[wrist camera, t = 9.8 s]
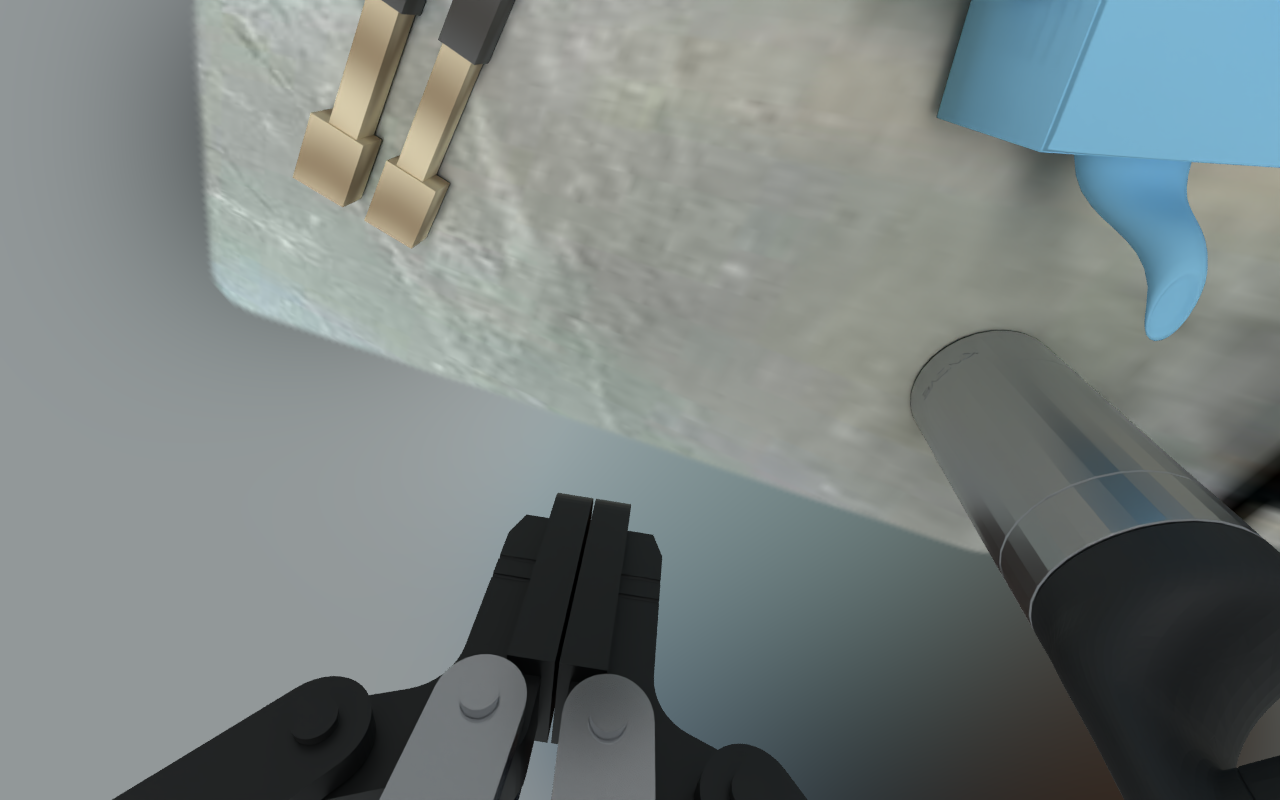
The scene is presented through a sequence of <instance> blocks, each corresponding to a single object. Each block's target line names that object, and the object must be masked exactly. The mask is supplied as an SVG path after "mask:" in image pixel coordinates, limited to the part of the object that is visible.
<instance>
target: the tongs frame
mask: <svg viewBox="0 0 1280 800" xmlns="http://www.w3.org/2000/svg"><path fill="white" fill-rule="evenodd" d="M425 1H426V0H365V3H364V6H363V10H362V13H361V16H360V20H359V23H358V26H357V30H356V33H355V36H354V40H353V43H352V46H351V50H350V53H349V57H348V60H347V63H346V67H345V70H344V73H343V77H342V80H341V83H340V87H339V90H338V93H337V97H336V100H335V103H334V107H333V109H328V110H323V111H317V112H312V113H311V114H310V118H309V121H308V125H307V128H306V132H305V136H304V139H303V143H302V146H301V150H300V153H299V157H298V161H297V164H296V168H295V171H294V175H293V178H295V179H296V180H298V181H300V182H301V183H303V184H305V185H306V186H308V187H310V188H311V189H313V190H315V191H316V192H318V193H320V194H321V195H323V196H325V197H326V198H328V199H330V200H331V201H333V202H335V203H336V204H338V205H340V206H341V207H344V206H346V205H349V204H351V203H353V202H355V201H357V200H359V199H361V198H362V195H363V192H364V189H365V186H366V184H367V181H368V178H369V175H370V172H371V169H372V167H373V164H374V161H375V158H376V155H377V152H378V150H379V147H380V144H381V141H382V140H381V139H380V138H378V137H376V136H375V135H374V133H375V130H376V127H377V124H378V121H379V118H380V115H381V112H382V110H383V107H384V104H385V101H386V98H387V95H388V92H389V89H390V86H391V83H392V80H393V78H394V75H395V72H396V69H397V66H398V63H399V60H400V57H401V54H402V51H403V49H404V46H405V43H406V40H407V37H408V34H409V31H410V28H411V25H412V22H413V19H414V17H415V15H419V16H420V15H421V12H422V10H423V7H424V4H425Z"/></svg>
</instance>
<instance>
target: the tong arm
mask: <svg viewBox="0 0 1280 800" xmlns="http://www.w3.org/2000/svg"><path fill="white" fill-rule="evenodd" d="M514 1H515V0H453V1H452V4H451V7H450V9H449V12H448V15H447V17H446V20H445V23H444V25H443V28H442V31H441V33H440V36H439V39H438V40H439V41H441V42H442V46H441V49H440V51H439V54H438V57H437V59H436V62H435V65H434V67H433V70H432V72H431V75H430V78H429V80H428V83H427V86H426V88H425V91H424V94H423V96H422V99H421V102H420V104H419V107H418V109H417V112H416V115H415V117H414V120H413V123H412V125H411V128H410V131H409V133H408V136H407V139H406V141H405V144H404V146H403V149H402V152H401V154H400V155H399V156H397V157H394V158H392V159H389V160H387V161H386V163H385V166H384V169H383V171H382V174H381V177H380V180H379V182H378V185H377V188H376V190H375V193H374V196H373V199H372V201H371V204H370V207H369V210H368V212H367V215H366V218H365V221H366V222H368V223H369V224H371V225H373V226H374V227H376V228H378V229H379V230H381V231H383V232H384V233H386V234H388V235H389V236H391V237H393V238H394V239H396V240H398V241H399V242H401V243H403V244H404V245H406V246H408V247H409V248H411V249H412V248H413V247H415V246H416V245H417V244H419V243H420V242H421V241H423V240H424V239H425V238H426V237H427V235H428V232H429V230H430V228H431V226H432V223H433V221H434V219H435V216H436V214H437V212H438V210H439V207H440V205H441V203H442V200H443V198H444V196H445V194H446V191H447V189H448V187H449V184H450V183H448V182H447V181H445V180H444V179H442V178H440V177H439V176H437V175H436V174H437V172H438V169H439V167H440V164H441V162H442V160H443V157H444V155H445V153H446V150H447V148H448V145H449V143H450V141H451V138H452V136H453V134H454V131H455V129H456V126H457V124H458V122H459V119H460V117H461V114H462V112H463V110H464V107H465V105H466V103H467V100H468V98H469V95H470V93H471V91H472V88H473V86H474V84H475V81H476V79H477V76H478V74H479V72H480V69H481V67H482V65H483V64H487V63H488V62H489V60H490V58H491V55H492V53H493V51H494V48H495V46H496V44H497V41H498V39H499V37H500V34H501V32H502V29H503V27H504V25H505V22H506V20H507V18H508V15H509V13H510V11H511V8H512V6H513V4H514Z"/></svg>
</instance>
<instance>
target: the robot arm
mask: <svg viewBox="0 0 1280 800" xmlns="http://www.w3.org/2000/svg"><path fill="white" fill-rule="evenodd" d="M910 405H911V411H912V415H913V417H914V419H915V421H916V423H917V425H918V427H919V429H920V431H921V433H922V434H923V436H924V438H925V440H926V441H927V443H928V445H929V447H930V449H931V450H932V452H933V454H934V456H935V458H936V460H937V461H938V463H939V465H940V467H941V468H942V470H943V472H944V474H945V476H946V477H947V479H948V481H949V483H950V484H951V486H952V488H953V490H954V491H955V493H956V495H957V497H958V499H959V500H960V502H961V504H962V506H963V507H964V509H965V511H966V513H967V514H968V516H969V518H970V520H971V521H972V523H973V525H974V527H975V529H976V530H977V532H978V534H979V536H980V537H981V539H982V541H983V543H984V544H985V546H986V548H987V550H988V551H989V553H990V555H991V557H992V559H993V560H994V562H995V564H996V566H997V567H998V569H999V571H1000V573H1001V574H1002V576H1003V578H1004V579H1005V581H1006V583H1007V584H1008V586H1009V588H1010V590H1011V591H1012V593H1013V595H1014V597H1015V598H1016V600H1017V602H1018V604H1019V605H1020V607H1021V609H1022V611H1023V613H1024V614H1025V616H1026V618H1027V620H1028V621H1029V623H1030V625H1031V627H1032V628H1033V630H1034V632H1035V633H1036V635H1037V637H1038V639H1039V641H1040V642H1041V644H1042V646H1043V648H1044V649H1045V651H1046V653H1047V654H1048V656H1049V658H1050V660H1051V662H1052V664H1053V666H1054V668H1055V670H1056V672H1057V674H1058V676H1059V678H1060V679H1061V682H1062V684H1063V685H1064V687H1065V689H1066V691H1067V693H1068V694H1069V696H1070V698H1071V700H1072V701H1073V703H1074V705H1075V707H1076V709H1077V711H1078V713H1079V715H1080V716H1081V718H1082V720H1083V722H1084V724H1085V725H1086V727H1087V729H1088V731H1089V733H1090V735H1091V736H1092V738H1093V740H1094V742H1095V744H1096V746H1097V748H1098V750H1099V751H1100V753H1101V755H1102V757H1103V759H1104V761H1105V763H1106V765H1107V767H1108V769H1109V771H1110V773H1111V775H1112V777H1113V779H1114V781H1115V783H1116V785H1117V787H1118V788H1119V790H1120V792H1121V794H1122V796H1123V798H1124V800H1280V756H1276V757H1272V758H1268V759H1265V760H1261V761H1257V762H1254V763H1250V764H1246V765H1242V766H1239V767H1238V768H1236V765H1237V761H1238V757H1239V754H1240V752H1241V749H1242V747H1243V744H1244V742H1245V740H1246V738H1247V737H1248V735H1249V733H1250V731H1251V730H1252V728H1253V727H1254V726H1255V724H1256V723H1257V721H1258V720H1259V719H1260V718H1261V716H1262V715H1263V714H1264V713H1265V712H1266V711H1267V710H1268V709H1269V708H1270V707H1271V706H1272V705H1273V704H1274V703H1275V702H1276V701H1277V700H1278V699H1279V698H1280V552H1278V551H1277V550H1276V549H1275V548H1274V547H1273V546H1272V545H1270V544H1269V543H1268V542H1267V541H1266V540H1264V539H1263V538H1262V537H1261V536H1260V535H1259V534H1258V533H1257V532H1256V531H1254V530H1253V529H1252V528H1251V527H1250V526H1249V525H1248V524H1247V523H1245V522H1244V521H1243V520H1242V519H1241V518H1240V517H1239V516H1237V515H1236V514H1235V513H1234V512H1233V511H1232V510H1231V509H1230V508H1228V507H1227V506H1226V505H1225V504H1224V503H1223V502H1222V501H1220V500H1219V499H1218V498H1217V497H1216V496H1215V495H1214V494H1213V493H1211V492H1210V491H1209V490H1208V489H1207V488H1205V487H1204V486H1203V485H1202V484H1201V483H1200V482H1198V481H1197V480H1196V479H1195V478H1194V477H1193V476H1192V475H1190V474H1189V473H1188V472H1187V471H1186V470H1185V469H1184V468H1183V467H1181V466H1180V465H1179V464H1178V463H1177V462H1176V461H1175V460H1174V459H1172V458H1171V457H1170V456H1169V455H1168V454H1167V453H1166V452H1164V451H1163V450H1162V449H1161V448H1160V447H1159V446H1158V445H1157V444H1155V443H1154V442H1153V441H1152V440H1151V439H1150V438H1149V437H1148V436H1146V435H1145V434H1144V433H1143V432H1142V431H1141V430H1140V429H1138V428H1137V427H1136V426H1135V425H1134V424H1133V423H1132V422H1131V421H1129V420H1128V419H1127V418H1126V417H1125V416H1124V415H1123V414H1122V413H1120V412H1119V411H1118V410H1117V409H1116V408H1115V407H1114V406H1113V405H1111V404H1110V403H1109V402H1108V401H1107V400H1106V399H1105V398H1103V397H1102V396H1101V395H1100V394H1099V393H1098V392H1097V391H1096V390H1094V389H1093V388H1092V387H1091V386H1090V385H1089V384H1088V383H1087V382H1085V381H1084V380H1083V379H1082V378H1081V377H1080V376H1079V375H1078V374H1077V373H1076V372H1075V371H1073V370H1072V369H1071V368H1070V367H1069V366H1068V365H1067V364H1066V363H1064V362H1063V361H1062V360H1061V359H1060V358H1059V357H1058V356H1056V355H1055V354H1054V353H1053V352H1052V351H1051V350H1050V349H1048V348H1047V347H1046V346H1045V345H1044V344H1042V343H1041V342H1040V341H1039V340H1037V339H1035V338H1033V337H1031V336H1029V335H1026V334H1024V333H1019V332H1013V331H989V332H984V333H978V334H975V335H972V336H969V337H966V338H963V339H961V340H959V341H957V342H955V343H953V344H951V345H950V346H948V347H946V348H945V349H943V350H942V351H941V352H939V353H938V354H937V355H936V356H934V357H933V358H932V359H931V360H930V361H929V362H928V364H927V365H926V366H925V367H924V368H923V369H922V371H921V373H920V374H919V376H918V377H917V379H916V381H915V384H914V387H913V389H912V392H911V402H910ZM592 508H593V498H587V497H581V496H575V495H569V494H562V493H558V494H557V496H556V498H555V502H554V505H553V508H552V511H551V514H550V518H545V517H538V516H532V515H526V516H525V517H524V518H523V519H522V520H521V521H520V522H519V523H518V524H517V525H516V526H515V527H514V528H513V529H512V530H511V531H510V532H509V534H508V536H507V539H506V541H505V544H504V546H503V549H502V552H501V554H500V559H498V562H497V564H496V567H495V570H494V573H493V577H492V578H491V580H490V583H489V586H488V588H487V591H486V593H485V596H484V598H483V601H482V604H481V606H480V609H479V611H478V614H477V617H476V619H475V622H474V624H473V627H472V630H471V632H470V635H469V638H468V641H467V643H466V645H465V647H464V650H463V652H462V654H461V655H460V657H459V658H458V660H457V661H456V662H455V663H454V665H452V666H451V667H450V668H449V669H448V670H447V671H446V672H445V673H444V674H443V675H441V676H439V677H438V678H436V679H435V680H433V681H431V682H429V683H427V684H424V685H421V686H418V687H414V688H410V689H405V690H398V691H393V692H386V693H381V694H374V695H368V693H367V691H366V690H365V689H364V688H363V686H362V685H360V684H359V683H358V682H356V681H354V680H352V679H349V678H345V677H338V676H330V677H323V678H319V679H315V680H312V681H309V682H307V683H304V684H303V685H301V686H299V687H297V688H295V689H293V690H292V691H290V692H289V693H287V694H285V695H284V696H282V697H280V698H279V699H277V700H275V701H274V702H272V703H270V704H269V705H267V706H266V707H264V708H262V709H261V710H259V711H257V712H256V713H254V714H252V715H251V716H249V717H247V718H246V719H244V720H242V721H241V722H239V723H238V724H236V725H234V726H233V727H231V728H229V729H228V730H226V731H224V732H223V733H221V734H220V735H218V736H216V737H215V738H213V739H211V740H210V741H208V742H206V743H205V744H203V745H201V746H200V747H198V748H196V749H195V750H193V751H192V752H190V753H188V754H187V755H185V756H183V757H182V758H180V759H178V760H177V761H175V762H173V763H172V764H170V765H169V766H167V767H165V768H164V769H162V770H160V771H159V772H157V773H156V774H154V775H152V776H150V777H149V778H147V779H145V780H144V781H142V782H140V783H139V784H137V785H136V786H134V787H132V788H131V789H129V790H127V791H126V792H124V793H123V794H121V795H119V796H117V797H116V798H115V799H113V800H519V797H520V793H521V789H522V786H523V784H524V780H525V777H526V773H527V769H528V765H529V761H530V756H531V752H532V748H533V743H534V741H540V742H546V743H547V741H548V737H549V732H550V728H551V723H552V718H553V714H554V721H553V731H552V740H551V743H554V744H558V751H557V758H556V766H555V774H554V782H553V790H552V798H551V800H807V799H806V797H805V796H804V794H803V793H802V792H801V791H800V789H799V788H798V787H797V785H796V784H795V782H794V781H793V780H792V779H791V777H790V776H789V774H788V773H787V772H786V770H785V769H784V768H783V767H782V766H781V765H780V763H779V762H778V761H777V760H776V759H774V758H773V757H772V756H771V755H769V754H768V753H766V752H765V751H763V750H761V749H759V748H757V747H754V746H751V745H747V744H731V745H728V746H725V747H723V748H721V749H719V750H717V749H715V748H713V747H711V746H710V745H708V744H706V743H704V742H702V741H700V740H699V739H697V738H695V737H693V736H691V735H689V734H688V733H686V732H684V731H683V730H681V729H680V728H679V727H677V726H676V725H675V724H674V723H673V722H672V721H671V720H670V719H669V718H668V717H667V715H666V714H665V712H664V711H663V710H662V708H661V706H660V704H659V702H658V699H657V696H656V693H655V688H654V666H655V665H654V664H655V650H656V637H657V623H658V609H659V608H658V607H659V593H660V580H661V565H662V555H661V553H660V550H659V548H658V546H657V543H656V541H655V538H654V536H653V535H650V534H644V533H638V532H632V531H628V524H629V516H630V509H631V504H625V503H619V502H612V501H607V500H600V499H596V501H595V505H594V510H593V514H592ZM591 516H592V519H591ZM554 709H555V711H554Z"/></svg>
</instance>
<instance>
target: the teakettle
mask: <svg viewBox="0 0 1280 800" xmlns="http://www.w3.org/2000/svg"><path fill="white" fill-rule="evenodd" d="M937 118H939V119H942V120H945V121H948V122H951V123H954V124H957V125H960V126H963V127H966V128H969V129H972V130H975V131H978V132H981V133H984V134H987V135H990V136H993V137H996V138H999V139H1002V140H1005V141H1008V142H1011V143H1014V144H1017V145H1020V146H1023V147H1026V148H1029V149H1032V150H1035V151H1038V152H1046V153H1061V154H1074V159H1075V171H1076V177H1077V180H1078V183H1079V186H1080V189H1081V191H1082V193H1083V194H1084V196H1085V197H1086V199H1087V200H1088V202H1089V203H1090V205H1091V206H1092V207H1093V208H1094V209H1095V211H1096V212H1097V213H1098V214H1099V215H1100V216H1101V217H1102V218H1103V219H1104V220H1105V221H1106V222H1107V223H1109V224H1110V225H1111V226H1112V227H1113V228H1114V229H1115V230H1116V231H1117V232H1118V233H1119V234H1120V235H1121V236H1122V237H1123V238H1124V239H1125V240H1126V241H1127V242H1128V243H1129V244H1130V246H1131V247H1132V248H1133V249H1134V250H1135V252H1136V253H1137V255H1138V257H1139V259H1140V261H1141V263H1142V265H1143V267H1144V269H1145V274H1146V280H1147V285H1148V292H1147V305H1146V313H1145V331H1146V335H1147V336H1148V337H1149V339H1151V340H1154V341H1158V340H1163V339H1165V338H1167V337H1169V336H1170V335H1171V334H1173V333H1174V332H1175V331H1176V330H1177V329H1178V328H1179V327H1180V326H1181V325H1182V324H1183V323H1184V321H1185V320H1186V319H1187V318H1188V316H1189V315H1190V313H1191V311H1192V310H1193V308H1194V307H1195V305H1196V303H1197V301H1198V299H1199V297H1200V295H1201V293H1202V290H1203V287H1204V285H1205V281H1206V275H1207V248H1206V242H1205V238H1204V236H1203V233H1202V230H1201V228H1200V226H1199V224H1198V222H1197V220H1196V218H1195V216H1194V215H1193V213H1192V210H1191V208H1190V206H1189V203H1188V200H1187V180H1188V173H1189V170H1190V166H1191V162H1201V163H1216V164H1232V165H1247V166H1263V167H1278V168H1280V0H971V2H970V6H969V9H968V13H967V16H966V20H965V23H964V26H963V30H962V33H961V36H960V40H959V43H958V47H957V50H956V53H955V57H954V60H953V63H952V67H951V70H950V74H949V77H948V80H947V84H946V87H945V91H944V94H943V97H942V101H941V104H940V108H939V111H938V114H937Z"/></svg>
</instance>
